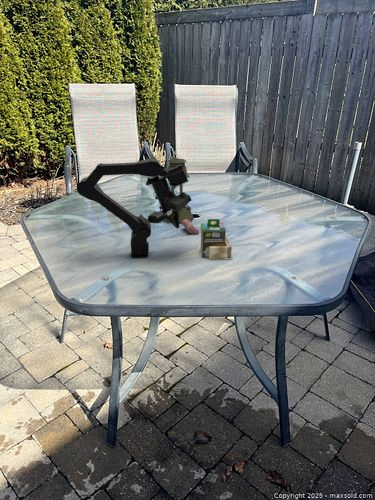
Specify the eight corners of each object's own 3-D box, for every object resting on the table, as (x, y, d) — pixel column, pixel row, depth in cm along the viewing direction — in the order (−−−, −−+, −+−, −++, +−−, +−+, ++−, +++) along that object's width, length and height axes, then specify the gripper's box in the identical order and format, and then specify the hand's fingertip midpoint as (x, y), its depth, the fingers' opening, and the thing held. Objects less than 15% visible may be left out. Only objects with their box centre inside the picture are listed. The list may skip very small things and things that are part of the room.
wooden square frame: (209, 259, 147) (209, 247, 145) (204, 245, 159) (204, 234, 157) (230, 259, 147) (231, 247, 146) (224, 245, 160) (224, 234, 158)
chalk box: (222, 248, 157) (223, 214, 152) (225, 257, 149) (227, 221, 143) (199, 248, 157) (200, 214, 151) (201, 257, 149) (202, 221, 143)
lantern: (189, 226, 182) (190, 163, 170) (154, 223, 185) (152, 161, 173) (196, 213, 200) (198, 156, 188) (164, 211, 203) (164, 154, 191)
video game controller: (184, 231, 180) (178, 219, 176) (192, 226, 180) (186, 214, 177) (192, 238, 171) (185, 226, 168) (200, 233, 172) (194, 221, 168)
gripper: (158, 202, 130) (174, 241, 137) (193, 179, 140) (207, 216, 146) (139, 203, 139) (156, 239, 145) (174, 181, 149) (188, 216, 155)
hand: (177, 227), depth 148 cm, fingers closed
